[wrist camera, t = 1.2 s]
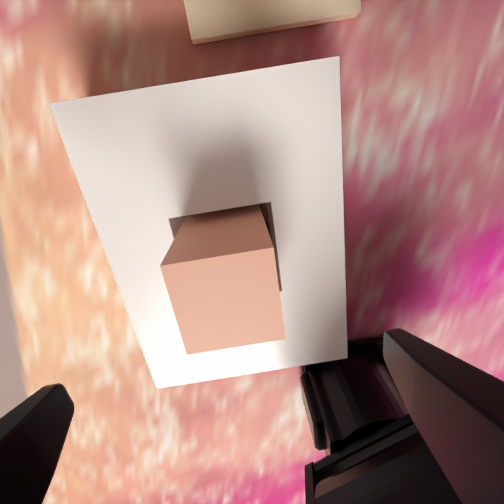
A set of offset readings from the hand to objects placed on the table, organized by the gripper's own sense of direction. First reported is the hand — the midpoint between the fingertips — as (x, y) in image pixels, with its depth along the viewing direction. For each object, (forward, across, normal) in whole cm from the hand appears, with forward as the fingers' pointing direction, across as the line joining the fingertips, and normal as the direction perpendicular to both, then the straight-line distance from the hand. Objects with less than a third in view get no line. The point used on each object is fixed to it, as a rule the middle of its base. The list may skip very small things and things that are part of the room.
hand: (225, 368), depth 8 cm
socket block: (+11, 0, 0) cm, 11 cm away
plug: (+11, 0, 0) cm, 11 cm away
